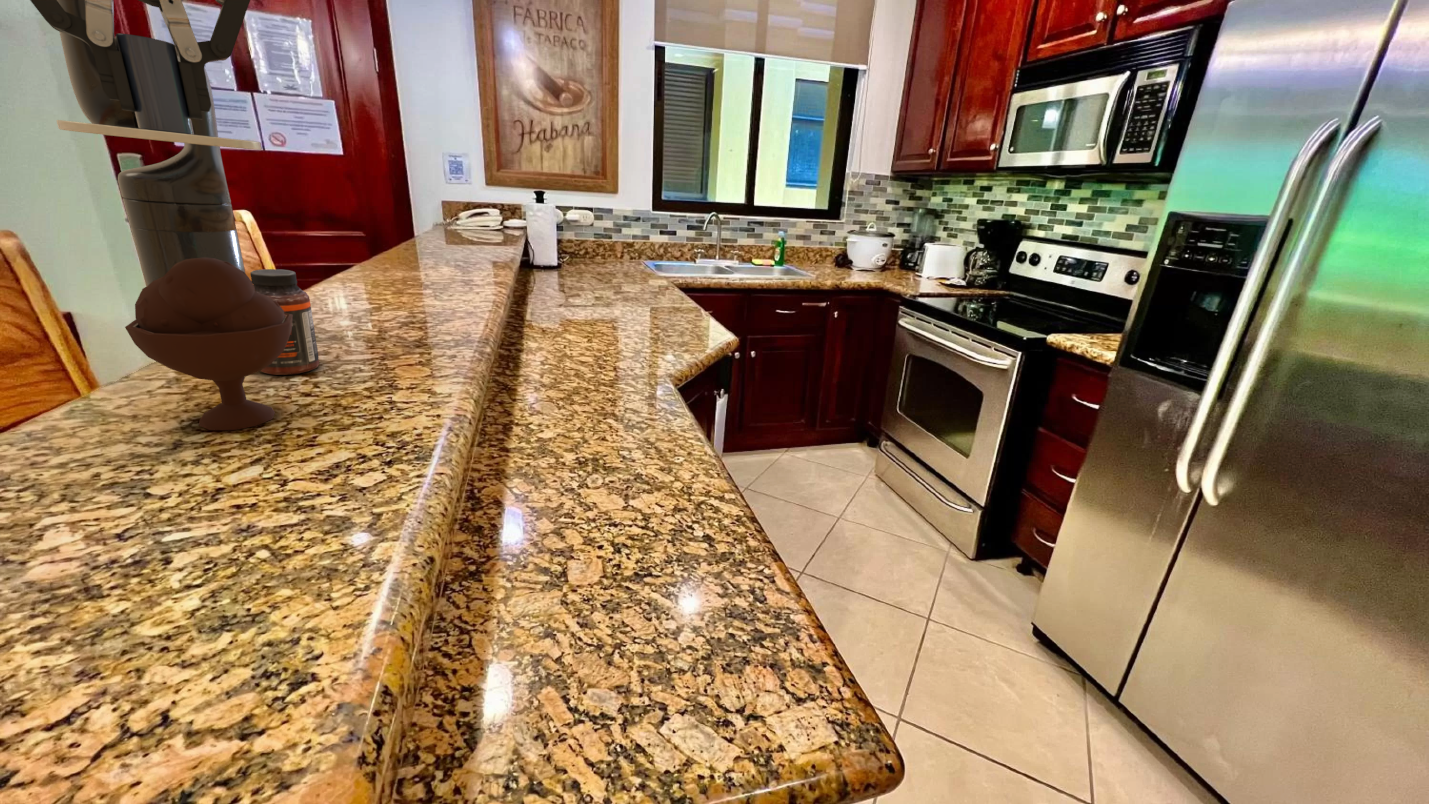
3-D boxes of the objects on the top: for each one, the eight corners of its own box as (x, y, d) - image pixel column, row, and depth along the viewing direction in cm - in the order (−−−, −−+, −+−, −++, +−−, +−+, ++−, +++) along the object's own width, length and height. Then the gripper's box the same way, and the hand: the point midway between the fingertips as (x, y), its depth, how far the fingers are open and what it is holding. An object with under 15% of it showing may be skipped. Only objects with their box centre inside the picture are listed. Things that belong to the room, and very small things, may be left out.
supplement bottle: (250, 377, 61) (228, 274, 57) (265, 361, 66) (246, 266, 62) (315, 375, 63) (298, 276, 59) (325, 360, 68) (310, 268, 64)
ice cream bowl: (335, 405, 57) (312, 256, 51) (237, 451, 46) (194, 270, 41) (239, 392, 57) (206, 243, 52) (120, 435, 47) (63, 254, 41)
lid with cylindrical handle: (66, 129, 42) (36, 27, 39) (253, 148, 49) (237, 63, 47) (49, 129, 34) (12, 4, 32) (271, 151, 42) (254, 51, 39)
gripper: (231, -121, 42) (273, 129, 48) (-78, -229, 33) (23, 98, 39) (243, -153, 37) (288, 129, 43) (-118, -292, 28) (5, 94, 34)
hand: (162, 113), depth 41 cm, fingers closed on lid with cylindrical handle, 3 cm apart
